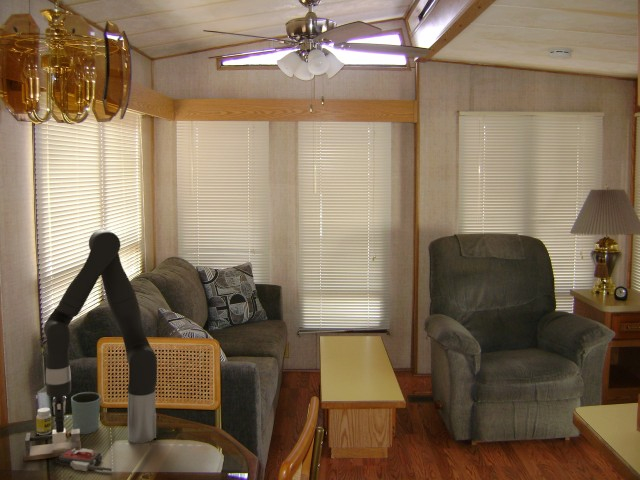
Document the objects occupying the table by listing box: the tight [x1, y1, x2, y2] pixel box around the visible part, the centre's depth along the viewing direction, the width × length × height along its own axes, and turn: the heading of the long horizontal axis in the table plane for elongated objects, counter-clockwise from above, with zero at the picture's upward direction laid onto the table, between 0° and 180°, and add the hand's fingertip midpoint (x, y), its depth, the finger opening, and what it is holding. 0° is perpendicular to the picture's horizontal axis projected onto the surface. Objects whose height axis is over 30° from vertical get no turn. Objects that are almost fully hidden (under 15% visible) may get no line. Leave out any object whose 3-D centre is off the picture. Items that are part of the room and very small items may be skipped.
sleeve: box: [51, 427, 67, 444], centre depth 207 cm, size 4×3×3 cm
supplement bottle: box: [35, 407, 52, 436], centre depth 221 cm, size 5×5×8 cm
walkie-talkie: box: [55, 448, 113, 472], centre depth 200 cm, size 9×4×20 cm
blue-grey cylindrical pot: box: [70, 391, 102, 435], centre depth 225 cm, size 10×10×12 cm
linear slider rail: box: [23, 428, 82, 462], centre depth 207 cm, size 17×7×7 cm, turn 111°
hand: (60, 426), depth 207 cm, fingers open, 8 cm apart
